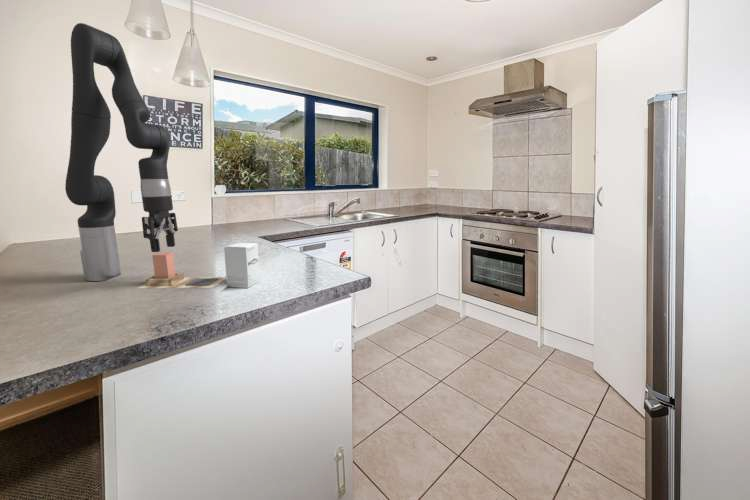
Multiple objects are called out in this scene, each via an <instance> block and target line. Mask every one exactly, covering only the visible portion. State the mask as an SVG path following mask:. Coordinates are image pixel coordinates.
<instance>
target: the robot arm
mask: <svg viewBox="0 0 750 500" xmlns="http://www.w3.org/2000/svg"><path fill="white" fill-rule="evenodd" d="M70 34H71V36H70V53H71V54H70V55H71V56H70V57H71V68H72V70H71V71H72V101H71V102H72V103H71V118H70V119H71V123H70V125H71V129H70V130H71V133H70V147H69V160H68V163H67V164H68V165H67V171H66V176H65V184H64V185H65V193H66V197H67V198H68V200H69V201H70V202H71V203H72V204H74V205H77V206H81V207H82V206H84V207H85V206H86V211H85V212H84V213H83V214H82V215H81V216H79V217H78V219H77V227H78V232H79V239H80V240H79V241H80V247H81V249H80V251H79V252H80V260H81V265H82V273H83V278H84V280H86V281H89V282H100V281H101V282H102V281H108V280H111V279H113V278H116V277H118V276H120V275H122V271H121V263H120V257H119V255H120V254H119V249H118V243H117V236H116V235H117V234H116V229H115V218H116V213H117V212H116V211H117V209H116V199H115V192H114V187H113V185H112V183H111V181H110V180H109V179H107V177H105V176H104V175H98V174H97V175H96V174H95V167H96V162H97V159H98V157H99V154H100V153H101V152H102V150H103V148H104V147H105V146H106V144H107V142H108V140H109V137H110V133H111V121H112V119H111V117H112V116H111V110H110V108H109V106H108V103H107V102H106V100H105V97H104V96H103V94H102V92H101V91H100V88H99V87H98V83H97V80H96V77H95V67H94V66H95V65H94V64H97V65H100V66H102V67H106V68H107V69H108V70H109V71H110V73H111V74H112V75H113V77H114V78H113V79H114V80H113V83H112V87H111V96H112V99H113V101H114V104H115V105H116V107H117V109H118V111H119V113H120V115H121V116H122V119H123V124H124V128H125V137H126V140H127V141H128V142H129V144H130V145H131V146H133V147H134V148H135V149H136V148H137V149H140V150H151V155H150V156H149V157H143V158H140V159H139V160H138V162H137V163H138V171H139V179H140V193H141V200H142V201H141V202H142V208H143V211H144V212H146V213H148V216H142V217H141V226H142V234H143V238H144V239H147V240H149V244H150V250H151V252H152V253H160V252H161V246H160V234H161V233H162V232H163V231H164V233H165V240H166V247H169V248H171V247H172V248H173V247H176V241H175V234H176V232H178V230H179V229H178V223H177V215H176V213H175V212H171V211H173V210H174V207H173V206H174V205H173V198H172V187H171V185H170V184H171V183H170V180H169V174H168V159H169V153H170V146H171V135H170V132H169V131H168V130H167V128H166V127H165V126H162V125H159V124H152V123H147V122H148V121H149V120H150V119H151V112H150V110H149V107H148V105H147V104H146V102H145V100H144V98H143V97H142V95H141V93H140V92H139V89H138V88H137V85H136V83H135V80H134V77H133V74H132V71H131V68H130V65H129V62H128V60H127V56H126V54H125V51H124V48H123V46H122V44H121V43H120V41H119V40H118V38H117V37H115V36H114V35H112V34H110V33H108V32H106V31H104V30H101V29H98V28H97V27H93V26H91V25H89V24H86V23H83V22H80V23H79V22H78V23H77V24H75V25H74V26H73V27H72V31H71V33H70Z"/></svg>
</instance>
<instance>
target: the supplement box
mask: <svg viewBox="0 0 750 500" xmlns="http://www.w3.org/2000/svg"><path fill="white" fill-rule="evenodd" d="M223 250H224V260H225V261H224V263H225V275H226V276H225V277H226V279H225V280H226V284H227V285H226V288H227V287H228V288H240V289H249V288H250V287H252V286H254V285H256V284H257V283H259V282H261V281H260V280H261V278H260V261H259V245H258V243H255V242H253V243H252V242H236V243H233V244H229V245H227V246H224V247H223Z"/></svg>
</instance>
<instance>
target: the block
mask: <svg viewBox="0 0 750 500" xmlns="http://www.w3.org/2000/svg"><path fill="white" fill-rule="evenodd" d="M151 256H152V264H153V271H154V273H153V274H154V276H155V279H170V278H172V277H174V276H176V275H175V273H176V267H175V257H174V252H171V251H169V252H166V251H165V252H161V251H159V252H156V253H154V254H151Z"/></svg>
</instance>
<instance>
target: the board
mask: <svg viewBox="0 0 750 500" xmlns="http://www.w3.org/2000/svg"><path fill="white" fill-rule="evenodd" d="M175 275H176V276H174V277H172V278H170V279H155V275H152V276H151V277H148V278H146V279H145V283H144V284H142V285H140V286H137V289H188V288H189V289H192V288H193V289H199V288H200V289H202V288H203V289H204V288H205V289H207V288H208V289H211V288H215V287H216V286H217V285H219V284H220V283H222V282H223V281H225V280H226V276H225V277H223V276H222V277H221V276H220V277H211V276H210V277H209V276H208V277H185V272H175Z"/></svg>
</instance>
